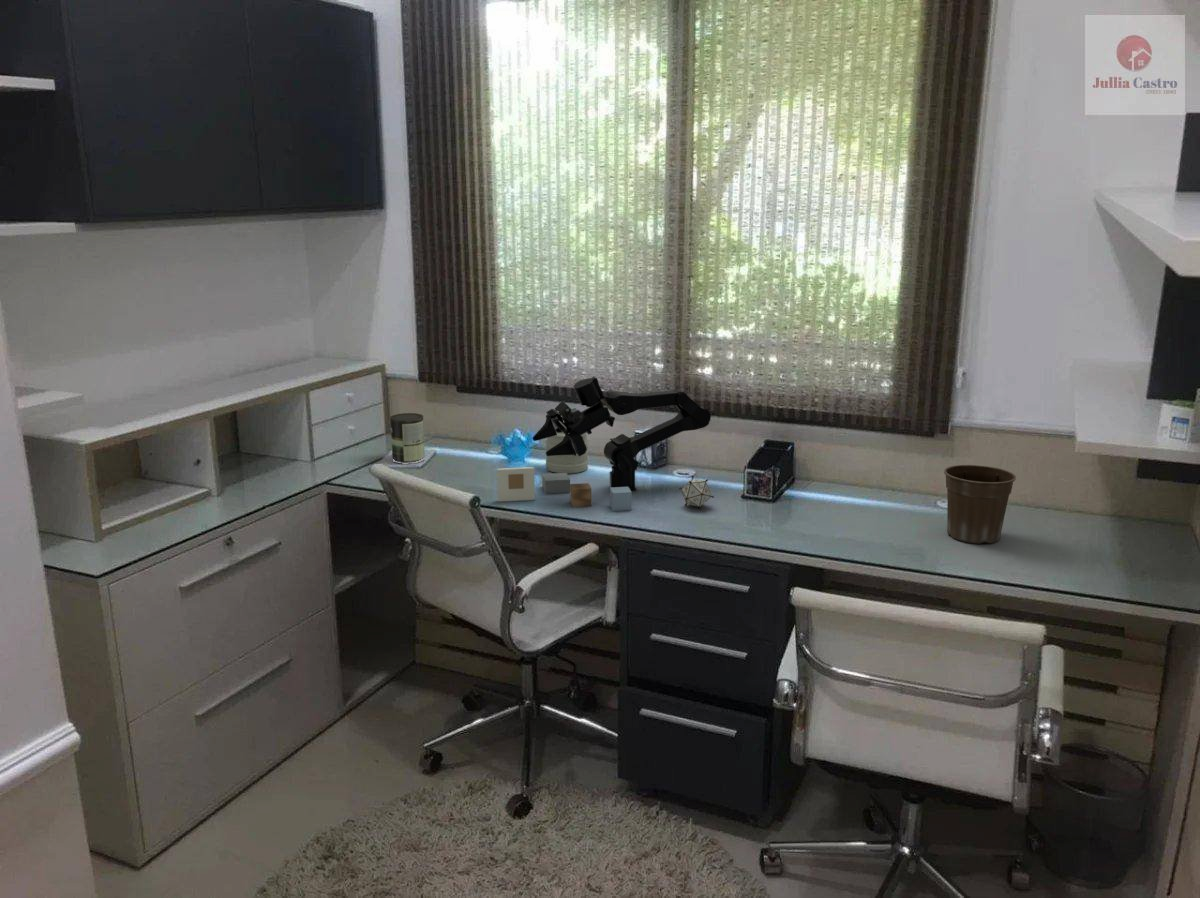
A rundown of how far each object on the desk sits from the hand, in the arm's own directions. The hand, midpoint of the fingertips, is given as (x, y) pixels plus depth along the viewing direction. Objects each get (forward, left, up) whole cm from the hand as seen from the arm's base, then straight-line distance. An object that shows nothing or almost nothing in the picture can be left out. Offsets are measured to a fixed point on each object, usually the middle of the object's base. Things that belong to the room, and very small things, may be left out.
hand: (539, 446), depth 264 cm
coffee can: (+37, -46, -15) cm, 61 cm away
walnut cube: (-10, +7, -15) cm, 19 cm away
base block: (-5, -7, -15) cm, 17 cm away
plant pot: (-101, +49, -15) cm, 113 cm away
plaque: (+7, +1, -14) cm, 16 cm away
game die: (-40, +15, -15) cm, 45 cm away
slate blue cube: (-20, +12, -15) cm, 28 cm away
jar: (-11, -28, -15) cm, 33 cm away
